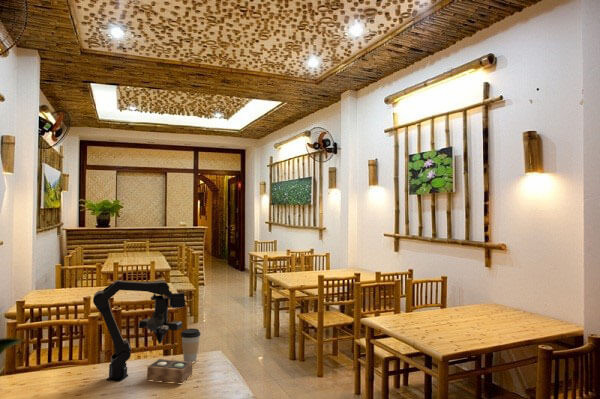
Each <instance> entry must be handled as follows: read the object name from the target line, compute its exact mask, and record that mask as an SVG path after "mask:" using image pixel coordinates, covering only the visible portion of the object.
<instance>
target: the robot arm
mask: <svg viewBox="0 0 600 399" xmlns="http://www.w3.org/2000/svg"><path fill="white" fill-rule="evenodd" d="M119 291H131V292H132V291H133V292H148V293H151V294H153V295H152V296H150V300H151V301H154V311H153V312H152V316H151V317H150V318H144V319H142V320H140V321H139V322H138V328H140V329H145V328H147V330H150V331H152V332H153V333H154V334H155V336H156V340H157V343H158V344H159V345H161V344H162V343H163V341H164V339H165V336H166V334H167V332H168V330H170V331H175V332H176V331H178V330H180V329H182V328H183V322H182V321H180V320H173V321H170V322H169V320H170V319H169V318H168V313H170V310H169V307H171V309H178V308H179V309H180V308H181V309H182V308H185V307H186V298H185V292H183V291H181V292H175V293H173V292H172V291H171V290H170V286H169V284H168V282H167V281H166V280H163V279H162V280H161V279H160V280H152V281H134V280H120V279H116V280H114V281H113V282H112V283H111V284H110V285H108V286H106V287H105V288H103V289H101V290H97V291H96V292H95V293H94V295H93V299H92V302H93V304H94V306H95V307H96V309H97V311H99V313H100V314H101V315H102V318H103V320H104V323H105V326H106V328H107V330H108V332H109V334H110V338H111V340H112V342H113V346H114V353H113V354H112V355H111V356H110V364H109V365H108V377H107V378H106V381H110V382H111V381H112V382H121V381H123V380H124V379H125V377H126V378H127V377H128V376H129V373H128V366H127V365H128V364H127V361H129V360H130V359H131V354H132V353H131V352H132V350H133V349H132V346H131V345H130V343H129V338H126V339H124V338H123V336H122V333H121V331H120V329H119V327H118V324H117V322H116V319H115V317H114V314H113V311H112V308H111V304H110V299H112V298H113V296H115V295H116V294H117V293H118V292H119Z"/></svg>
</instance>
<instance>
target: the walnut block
mask: <svg viewBox="0 0 600 399" xmlns="http://www.w3.org/2000/svg"><path fill="white" fill-rule="evenodd" d="M159 362H166V363H167V364H166V365H165V366H163V365H157V363H159ZM178 363H182V364H184V366H183V367H174V365H175V364H178ZM146 373H147V374H146V376H147V377H146V381H147V380H153V381H162V382H174V383H183V382H184V381H185V380H186V379H187V378H188V377H189V376H190V375H191V374H192V375H193V364H192V362H188V361H184V360H178V359H177V360H176V359H166V358H165V359H164V358H158V359H157V360H156V361H154V362H153V363H151V364H150V365H148V366H147V372H146ZM186 381H187V380H186ZM186 381H185V382H186ZM185 382H184V383H185ZM184 383H183V384H184Z"/></svg>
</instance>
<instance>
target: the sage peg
mask: <svg viewBox="0 0 600 399" xmlns="http://www.w3.org/2000/svg"><path fill="white" fill-rule="evenodd" d="M183 366H184V364H182V363H178V364H175V365H174V367H183Z"/></svg>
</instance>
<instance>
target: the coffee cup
mask: <svg viewBox="0 0 600 399" xmlns="http://www.w3.org/2000/svg"><path fill="white" fill-rule="evenodd" d="M201 335H202V334H201V332H200V329H198V328H186V329H183V330H182V332H181V333H180V337H181V338H182V340H181V345H182V353H183V361H188V362H193V361H196V362H197V358H198V351H199V345H200V337H201Z"/></svg>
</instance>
